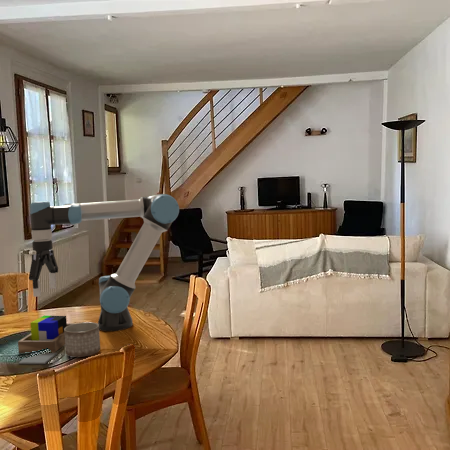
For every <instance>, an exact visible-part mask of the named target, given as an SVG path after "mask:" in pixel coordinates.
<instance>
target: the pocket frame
mask: <svg viewBox="0 0 450 450" xmlns="http://www.w3.org/2000/svg"><path fill="white" fill-rule="evenodd" d="M72 324H76V322H75V323H71V322H70V323H68V322H67V326H69V325H72ZM64 346H65V335H64V332H63V333H62V334H60V335H59V336H57V337H56V338H55V339H53V340H52V341H32V336H31V333H29V334H27V335H26V336H24V337H23V338H21V339H20V340H18V341H17V347H18V349H17V350H18V353H19V354H26V353H25V352H32V351H38V350H42V349H46V348H48V349H50V350H51V352H52V353H57V352H58V351H59V350H60V349H62V347H64Z"/></svg>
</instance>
